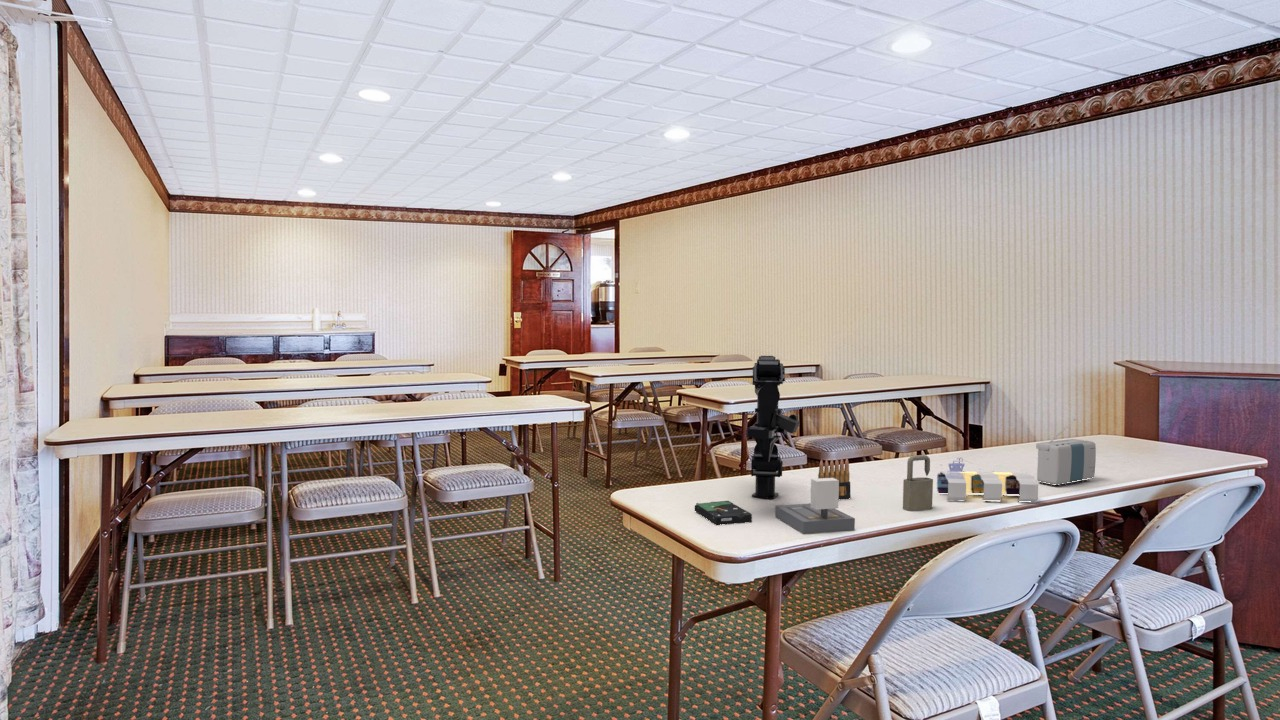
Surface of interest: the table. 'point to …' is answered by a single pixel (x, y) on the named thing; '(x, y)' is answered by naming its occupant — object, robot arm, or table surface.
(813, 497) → the fader knob
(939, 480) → the diorama
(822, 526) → the panel
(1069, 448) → the stereo radio cassette player
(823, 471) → the ammunition clip
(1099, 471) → the table surface
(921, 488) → the padlock
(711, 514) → the disk drive
